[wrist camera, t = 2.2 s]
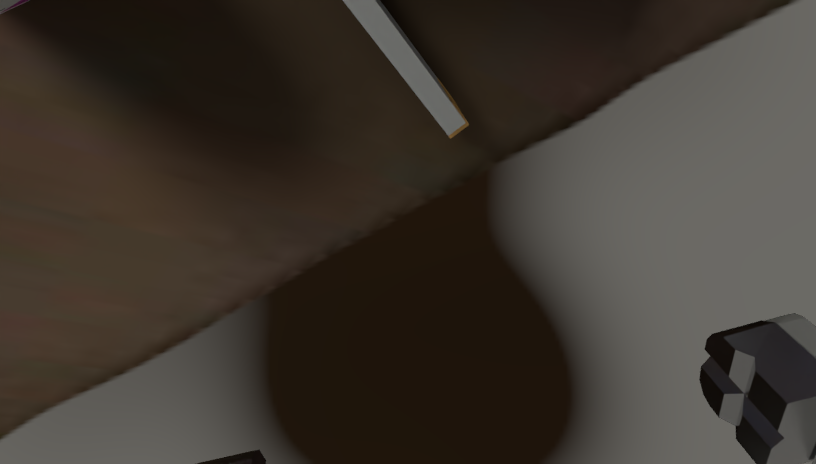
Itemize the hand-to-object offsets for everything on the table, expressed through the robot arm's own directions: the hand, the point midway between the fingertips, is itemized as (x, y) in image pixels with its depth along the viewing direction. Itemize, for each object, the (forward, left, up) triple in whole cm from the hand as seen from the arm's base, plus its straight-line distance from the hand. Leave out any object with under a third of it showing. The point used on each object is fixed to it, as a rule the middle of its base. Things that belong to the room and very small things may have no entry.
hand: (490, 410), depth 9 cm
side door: (-3, -1, -22) cm, 22 cm away
